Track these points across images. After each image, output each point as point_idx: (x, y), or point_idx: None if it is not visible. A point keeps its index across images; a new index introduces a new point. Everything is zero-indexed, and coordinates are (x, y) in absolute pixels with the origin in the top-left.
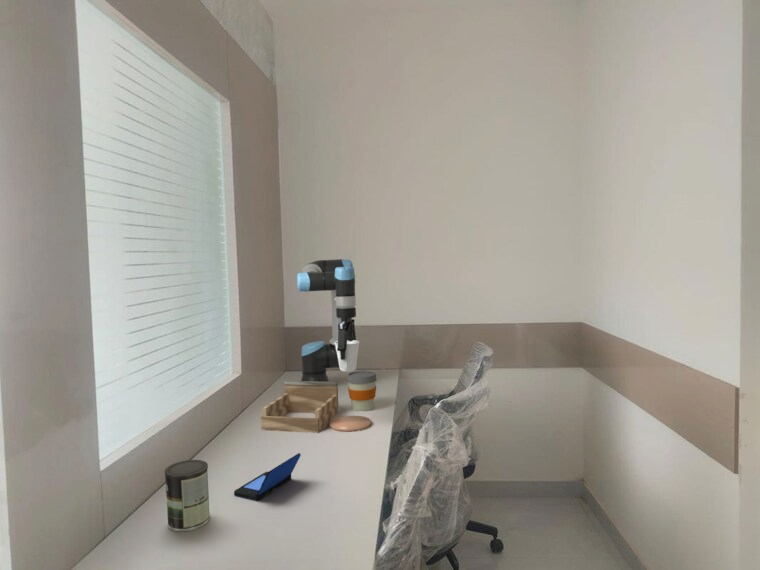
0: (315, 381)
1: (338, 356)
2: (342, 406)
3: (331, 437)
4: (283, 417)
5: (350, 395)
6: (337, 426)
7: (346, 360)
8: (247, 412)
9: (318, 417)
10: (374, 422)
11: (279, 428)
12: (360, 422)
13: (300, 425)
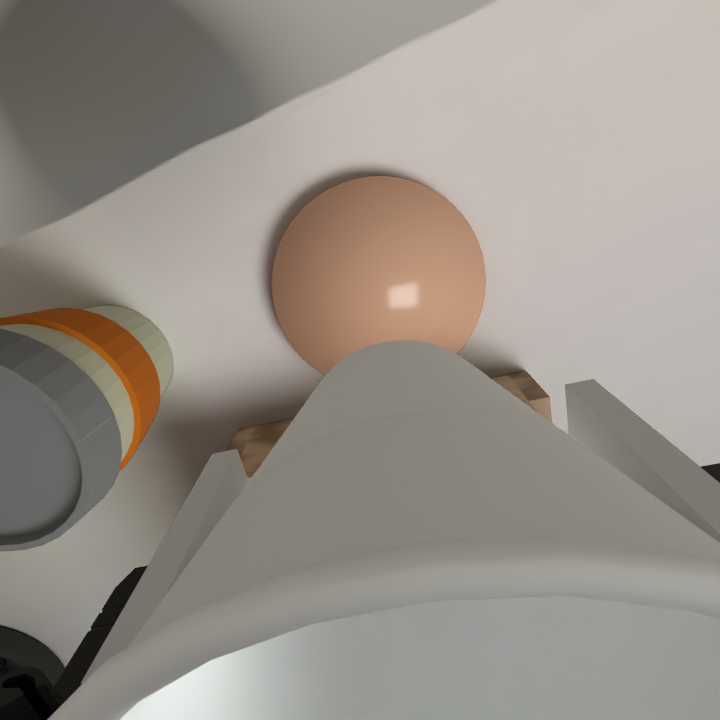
0: None
1: (564, 631)
2: (141, 462)
3: (572, 282)
4: None
5: (146, 432)
6: (464, 316)
7: (658, 438)
8: None
9: (530, 405)
10: (293, 186)
11: None
12: (369, 235)
13: None
